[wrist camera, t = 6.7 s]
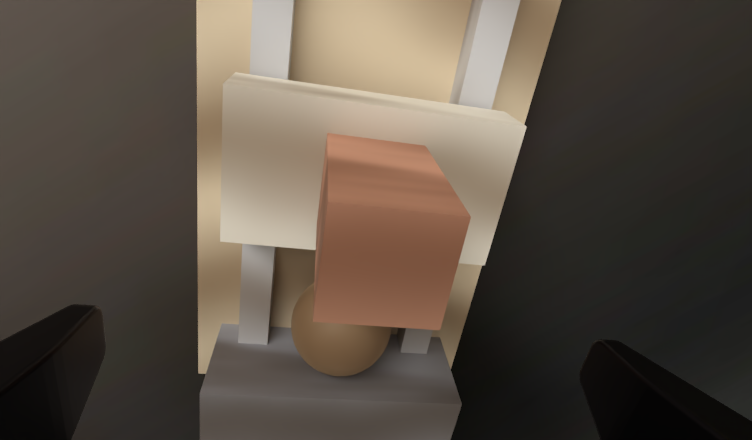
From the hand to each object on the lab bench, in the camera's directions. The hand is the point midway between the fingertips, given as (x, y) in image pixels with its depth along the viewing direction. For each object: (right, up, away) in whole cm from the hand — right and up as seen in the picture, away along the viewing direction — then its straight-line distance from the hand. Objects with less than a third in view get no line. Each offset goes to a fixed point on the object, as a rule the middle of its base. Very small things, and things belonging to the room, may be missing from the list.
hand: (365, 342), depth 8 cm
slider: (0, +4, +8) cm, 9 cm away
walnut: (-1, -1, +12) cm, 12 cm away
